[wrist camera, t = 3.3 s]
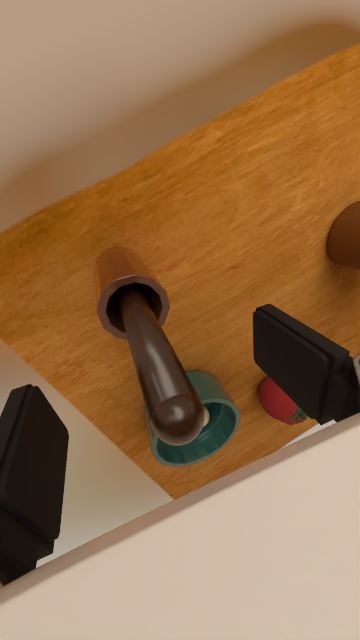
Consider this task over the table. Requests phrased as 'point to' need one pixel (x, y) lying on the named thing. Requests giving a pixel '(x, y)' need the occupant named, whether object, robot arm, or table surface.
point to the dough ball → (206, 416)
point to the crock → (118, 271)
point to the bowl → (212, 434)
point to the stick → (159, 372)
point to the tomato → (279, 403)
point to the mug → (346, 237)
